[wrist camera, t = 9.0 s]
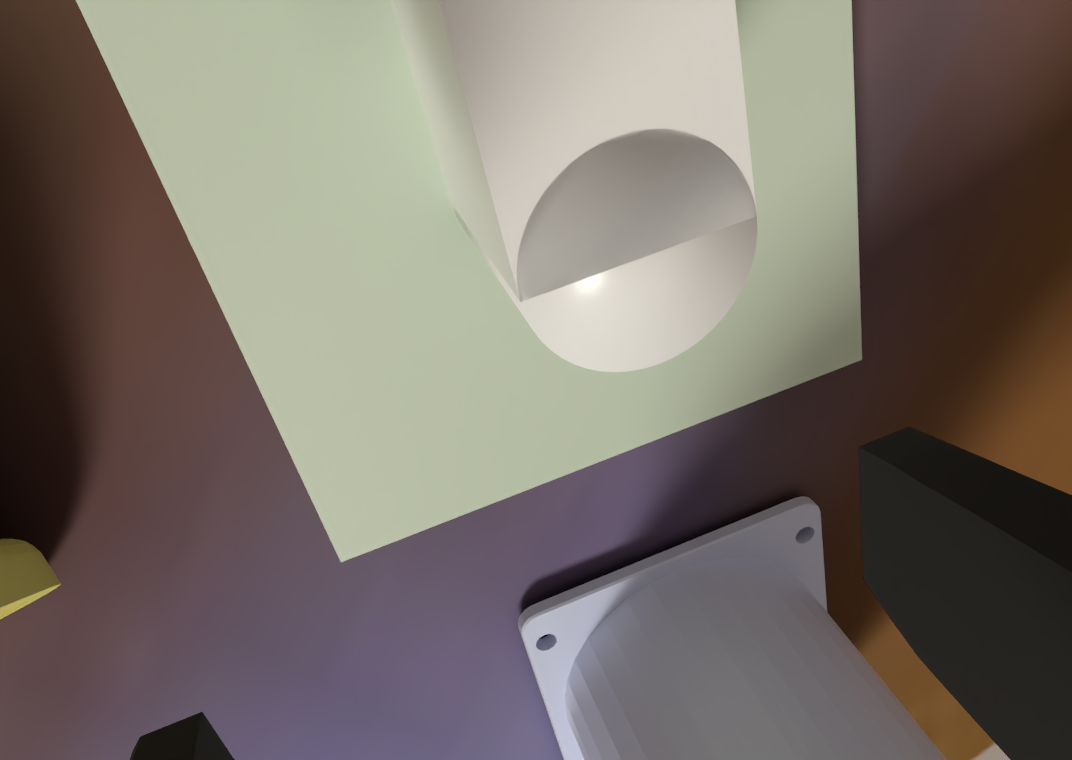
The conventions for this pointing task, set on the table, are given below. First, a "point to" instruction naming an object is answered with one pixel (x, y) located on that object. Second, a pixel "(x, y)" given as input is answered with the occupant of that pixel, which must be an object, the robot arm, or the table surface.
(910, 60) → the table surface
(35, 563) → the plastic component
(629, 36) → the grey connector
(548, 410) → the sage board
